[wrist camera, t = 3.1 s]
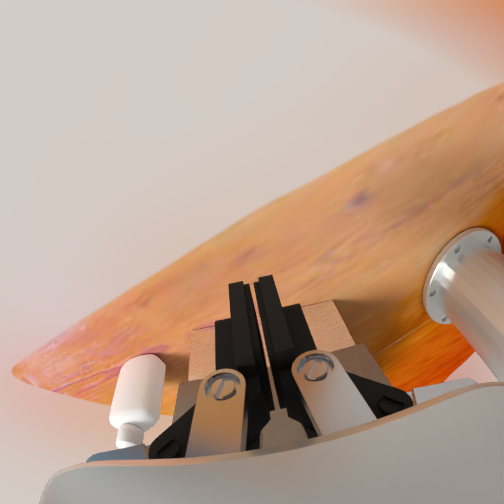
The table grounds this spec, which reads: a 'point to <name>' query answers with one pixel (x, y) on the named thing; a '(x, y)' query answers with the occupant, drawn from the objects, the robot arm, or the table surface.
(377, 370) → the lid
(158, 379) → the eye dropper bottle
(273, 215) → the table surface
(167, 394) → the table surface
